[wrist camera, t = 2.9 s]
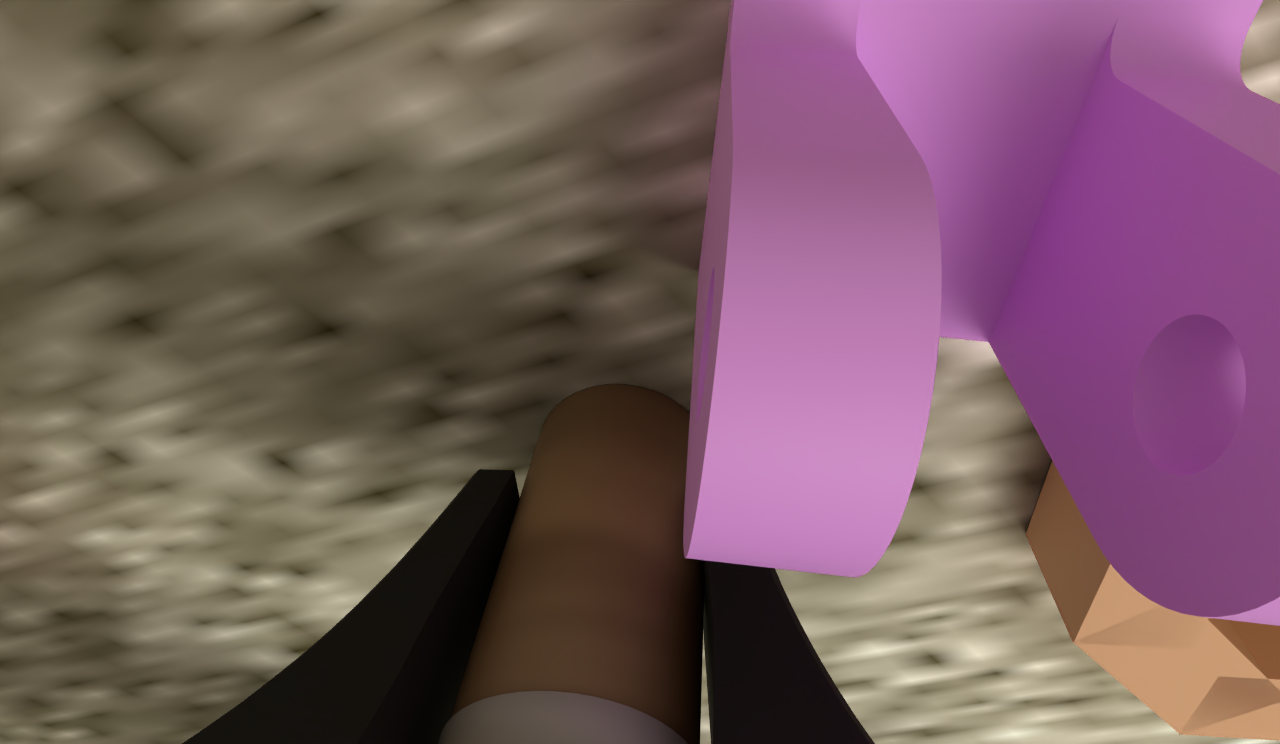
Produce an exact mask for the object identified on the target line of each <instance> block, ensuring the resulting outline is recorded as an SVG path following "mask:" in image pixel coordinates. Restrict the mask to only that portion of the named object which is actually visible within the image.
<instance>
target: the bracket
mask: <svg viewBox="0 0 1280 744" xmlns="http://www.w3.org/2000/svg"><path fill="white" fill-rule="evenodd" d="M1262 1H1263V0H731V7H730V15H729V23H728V32H727V40H726V48H725V57H724V65H723V73H722V82H721V90H720V98H719V106H718V115H717V123H716V131H715V140H714V148H713V156H712V165H711V173H710V181H709V190H708V198H707V206H706V215H705V223H704V231H703V240H702V248H701V256H700V265H699V274H698V290H697V306H696V323H695V339H694V356H693V372H692V389H691V405H690V422H689V438H688V455H687V471H686V488H685V505H684V528H683V549H684V557H685V558H689V559H698V560H706V561H715V562H724V563H733V564H741V565H750V566H759V567H768V568H777V569H785V570H794V571H803V572H812V573H820V574H829V575H838V576H847V577H859V576H862V575H864V574H866V573H868V572H869V571H870V570H871V569H872V568H873V567H874V566H875V565H876V564H877V562H878V561H879V560H880V558H881V557H882V556H883V554H884V552H885V551H886V549H887V547H888V546H889V544H890V542H891V540H892V538H893V536H894V534H895V532H896V529H897V527H898V525H899V523H900V520H901V517H902V515H903V512H904V509H905V507H906V504H907V501H908V498H909V495H910V492H911V488H912V485H913V482H914V479H915V475H916V471H917V467H918V464H919V460H920V456H921V452H922V447H923V442H924V438H925V433H926V428H927V424H928V418H929V412H930V406H931V400H932V395H933V387H934V380H935V372H936V364H937V355H938V344H939V337H946V338H956V339H966V340H976V341H986V342H989V343H990V345H991V347H992V349H993V351H994V353H995V354H996V356H997V358H998V360H999V362H1000V364H1001V366H1002V367H1003V369H1004V371H1005V373H1006V375H1007V377H1008V379H1009V381H1010V382H1011V384H1012V386H1013V388H1014V390H1015V392H1016V394H1017V395H1018V397H1019V399H1020V401H1021V403H1022V405H1023V407H1024V409H1025V410H1026V412H1027V414H1028V416H1029V418H1030V420H1031V422H1032V423H1033V425H1034V427H1035V429H1036V431H1037V433H1038V435H1039V436H1040V438H1041V440H1042V442H1043V444H1044V446H1045V448H1046V450H1047V451H1048V453H1049V455H1050V457H1051V459H1052V461H1053V463H1054V464H1055V466H1056V468H1057V470H1058V472H1059V474H1060V476H1061V478H1062V479H1063V481H1064V483H1065V485H1066V487H1067V489H1068V491H1069V492H1070V494H1071V496H1072V498H1073V500H1074V502H1075V504H1076V506H1077V507H1078V509H1079V511H1080V513H1081V515H1082V517H1083V519H1084V520H1085V522H1086V524H1087V526H1088V528H1089V530H1090V532H1091V534H1092V535H1093V537H1094V539H1095V541H1096V542H1097V544H1098V546H1099V548H1100V549H1101V551H1102V553H1103V554H1104V556H1105V557H1106V558H1107V560H1108V561H1109V562H1110V564H1111V565H1112V567H1113V568H1114V569H1115V570H1116V571H1117V572H1118V573H1119V574H1120V576H1121V577H1122V578H1123V579H1124V580H1125V581H1126V582H1127V583H1128V584H1130V585H1131V586H1132V587H1133V588H1134V589H1135V590H1136V591H1138V592H1139V593H1141V594H1142V595H1143V596H1145V597H1146V598H1148V599H1149V600H1151V601H1153V602H1155V603H1157V604H1159V605H1161V606H1163V607H1165V608H1167V609H1170V610H1173V611H1176V612H1179V613H1182V614H1187V615H1193V616H1198V617H1207V618H1216V619H1224V620H1233V621H1242V622H1251V623H1259V624H1268V625H1277V626H1280V104H1278V103H1276V102H1274V101H1272V100H1269V99H1267V98H1265V97H1263V96H1261V95H1259V94H1256V93H1254V92H1252V91H1251V90H1249V89H1248V88H1247V87H1246V86H1245V84H1244V82H1243V80H1242V77H1241V72H1240V58H1241V51H1242V47H1243V43H1244V40H1245V37H1246V35H1247V32H1248V30H1249V28H1250V26H1251V24H1252V21H1253V19H1254V17H1255V15H1256V13H1257V11H1258V9H1259V7H1260V5H1261V3H1262Z"/></svg>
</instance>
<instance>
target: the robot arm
mask: <svg viewBox="0 0 1280 744" xmlns="http://www.w3.org/2000/svg"><path fill="white" fill-rule="evenodd" d="M519 499H520V498H519V493H518V488H517V483H516V478H515V472H514V470H483V469H479V470H478V471H477V472H476V473H475V474H474V475H473V476H472V478H471V479H470V480H469V481H468V482H467V484H466V485H465V486H464V487H463V488H462V490H461V491H460V492H459V493H458V494H457V496H456V497H455V498H454V499H453V501H452V502H451V503H450V504H449V505H448V507H447V508H446V509H445V510H444V511H443V512H442V514H441V515H440V516H439V517H438V518H437V520H436V521H435V522H434V523H433V524H432V525H431V527H430V528H429V529H428V530H427V531H426V532H425V533H424V535H423V536H422V537H421V538H420V539H419V540H418V541H417V542H416V543H415V545H414V546H413V547H412V548H411V549H410V550H409V551H408V552H407V554H406V555H405V556H404V557H403V558H402V559H401V560H400V561H399V562H398V563H397V565H396V566H395V567H394V568H393V569H392V570H391V571H390V572H389V573H388V574H387V575H386V576H385V577H384V578H383V579H382V580H381V581H380V582H379V583H378V584H377V585H376V586H375V587H374V588H373V589H372V590H371V591H370V592H369V593H368V594H367V595H366V596H365V597H364V598H363V599H362V600H361V601H360V602H359V603H358V604H357V605H356V606H355V607H354V608H353V609H352V610H351V611H350V612H349V613H348V614H347V615H346V616H345V617H344V618H343V619H342V620H341V621H340V622H338V623H337V624H336V625H335V626H334V627H333V628H332V629H331V630H330V631H329V632H327V633H326V634H325V635H324V636H323V637H322V638H321V639H320V640H318V641H317V642H316V643H315V644H314V645H313V646H312V647H310V648H309V649H308V650H307V651H306V652H305V653H303V654H302V655H301V656H300V657H299V658H297V659H296V660H295V661H294V662H292V663H291V664H290V665H289V666H287V667H286V668H285V669H284V670H283V671H281V672H280V673H279V674H278V675H276V676H275V677H274V678H273V679H271V680H270V681H269V682H267V683H266V684H265V685H263V686H262V687H261V688H260V689H258V690H257V691H256V692H254V693H253V694H252V695H251V696H249V697H248V698H247V699H245V700H244V701H243V702H241V703H240V704H239V705H237V706H236V707H235V708H233V709H232V710H230V711H229V712H227V713H226V714H225V715H223V716H222V717H220V718H219V719H217V720H216V721H215V722H213V723H212V724H210V725H209V726H207V727H206V728H205V729H203V730H202V731H200V732H199V733H197V734H196V735H194V736H193V737H191V738H190V739H188V740H187V741H185V742H184V743H182V744H438V742H439V739H440V736H441V733H442V730H443V729H444V727H445V725H446V723H447V722H448V721H449V720H450V718H451V715H452V712H453V708H454V705H455V702H456V699H457V696H458V692H459V689H460V686H461V683H462V680H463V677H464V673H465V670H466V667H467V664H468V661H469V658H470V654H471V651H472V648H473V645H474V642H475V639H476V635H477V632H478V629H479V626H480V623H481V620H482V616H483V613H484V610H485V607H486V604H487V601H488V597H489V594H490V591H491V588H492V585H493V582H494V578H495V575H496V572H497V569H498V566H499V563H500V559H501V556H502V553H503V550H504V547H505V544H506V540H507V537H508V534H509V531H510V528H511V525H512V521H513V518H514V515H515V512H516V509H517V506H518V502H519ZM703 568H704V614H703V630H704V645H705V660H706V675H707V689H708V704H709V718H710V733H711V744H875V743H874V742H873V740H872V739H871V738H870V736H869V735H868V733H867V732H866V731H865V729H864V728H863V726H862V725H861V724H860V722H859V721H858V719H857V718H856V716H855V715H854V713H853V712H852V710H851V709H850V707H849V706H848V704H847V702H846V701H845V699H844V698H843V696H842V695H841V693H840V692H839V690H838V688H837V687H836V685H835V684H834V682H833V680H832V679H831V677H830V675H829V674H828V672H827V670H826V669H825V667H824V665H823V664H822V662H821V660H820V658H819V657H818V655H817V653H816V651H815V650H814V648H813V646H812V644H811V642H810V641H809V639H808V637H807V635H806V633H805V631H804V629H803V627H802V625H801V623H800V622H799V620H798V618H797V616H796V614H795V612H794V610H793V608H792V606H791V604H790V602H789V599H788V597H787V595H786V593H785V591H784V589H783V587H782V584H781V582H780V580H779V577H778V575H777V573H776V570H775V568H768V567H759V566H750V565H741V564H733V563H724V562H715V561H706V560H703Z"/></svg>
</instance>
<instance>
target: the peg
mask: <svg viewBox="0 0 1280 744" xmlns="http://www.w3.org/2000/svg"><path fill="white" fill-rule="evenodd" d="M689 422H690V413H689V412H687V411H686V410H685V409H684V408H683V407H682V406H680V405H679V404H678V403H676V402H675V401H673V400H672V399H670V398H668V397H666V396H664V395H662V394H660V393H657V392H655V391H652V390H649V389H645V388H642V387H637V386H631V385H619V384H616V385H602V386H595V387H591V388H587V389H584V390H581V391H579V392H576V393H574V394H572V395H571V396H569V397H567V398H565V399H564V400H563V401H561V402H560V403H559V404H558V405H557V406H556V407H555V408H554V409H553V410H552V411H551V412H550V414H549V415H548V416H547V418H546V420H545V422H544V424H543V426H542V430H541V433H540V436H539V439H538V442H537V445H536V449H535V452H534V455H533V458H532V461H531V464H530V468H529V471H528V474H527V477H526V480H525V483H524V487H523V490H522V493H521V496H520V499H519V502H518V506H517V509H516V512H515V515H514V518H513V521H512V525H511V528H510V531H509V534H508V537H507V540H506V544H505V547H504V550H503V553H502V556H501V559H500V563H499V566H498V569H497V572H496V575H495V578H494V582H493V585H492V588H491V591H490V594H489V597H488V601H487V604H486V607H485V610H484V613H483V616H482V620H481V623H480V626H479V629H478V632H477V635H476V639H475V642H474V645H473V648H472V651H471V654H470V658H469V661H468V664H467V667H466V670H465V673H464V677H463V680H462V683H461V686H460V689H459V692H458V696H457V699H456V702H455V705H454V708H453V712H452V715H451V718H450V720H449V721H448V722H447V723H446V725H445V727H444V729H443V730H442V733H441V736H440V739H439V742H438V744H700V719H701V684H702V649H703V614H704V568H703V560H698V559H689V558H685V557H684V549H683V528H684V505H685V488H686V471H687V455H688V438H689Z"/></svg>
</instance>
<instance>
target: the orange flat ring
mask: <svg viewBox="0 0 1280 744" xmlns="http://www.w3.org/2000/svg"><path fill="white" fill-rule="evenodd" d="M1025 534H1026V536H1027V539H1028V541H1029V543H1030V546H1031V548H1032V550H1033V552H1034V555H1035V557H1036V559H1037V561H1038V564H1039V566H1040V568H1041V571H1042V573H1043V575H1044V577H1045V580H1046V582H1047V584H1048V587H1049V589H1050V591H1051V593H1052V596H1053V598H1054V600H1055V603H1056V605H1057V607H1058V609H1059V612H1060V614H1061V616H1062V618H1063V621H1064V623H1065V625H1066V628H1067V630H1068V632H1069V634H1070V637H1071V639H1072V641H1073V643H1075V644H1076V645H1077V646H1078V647H1079V648H1081V649H1082V650H1083V651H1084V652H1085V653H1086V654H1088V655H1089V656H1090V657H1091V658H1092V659H1093V660H1095V661H1096V662H1097V663H1098V664H1099V665H1100V666H1102V667H1103V668H1104V669H1105V670H1106V671H1107V672H1109V673H1110V674H1111V675H1112V676H1113V677H1114V678H1115V679H1117V680H1118V681H1119V682H1120V683H1121V684H1122V685H1124V686H1125V687H1126V688H1127V689H1128V690H1129V691H1131V692H1132V693H1133V694H1134V695H1135V696H1136V697H1138V698H1139V699H1140V700H1141V701H1142V702H1143V703H1145V704H1146V705H1147V706H1148V707H1149V708H1150V709H1151V710H1153V711H1154V712H1155V713H1156V714H1157V715H1158V716H1160V717H1161V718H1162V719H1163V720H1164V721H1165V722H1167V723H1168V724H1169V725H1170V726H1171V727H1172V728H1174V729H1175V730H1176V731H1177V732H1178V733H1179V734H1181V735H1199V736H1215V737H1232V738H1248V739H1265V740H1280V626H1277V625H1268V624H1259V623H1251V622H1242V621H1233V620H1224V619H1216V618H1207V617H1198V616H1193V615H1187V614H1182V613H1179V612H1176V611H1173V610H1170V609H1167V608H1165V607H1163V606H1161V605H1159V604H1157V603H1155V602H1153V601H1151V600H1149V599H1148V598H1146V597H1145V596H1143V595H1142V594H1141V593H1139V592H1138V591H1136V590H1135V589H1134V588H1133V587H1132V586H1131V585H1130V584H1128V583H1127V582H1126V581H1125V580H1124V579H1123V578H1122V577H1121V576H1120V574H1119V573H1118V572H1117V571H1116V570H1115V569H1114V568H1113V567H1112V565H1111V564H1110V562H1109V561H1108V560H1107V558H1106V557H1105V556H1104V554H1103V553H1102V551H1101V549H1100V548H1099V546H1098V544H1097V542H1096V541H1095V539H1094V537H1093V535H1092V534H1091V532H1090V530H1089V528H1088V526H1087V524H1086V522H1085V520H1084V519H1083V517H1082V515H1081V513H1080V511H1079V509H1078V507H1077V506H1076V504H1075V502H1074V500H1073V498H1072V496H1071V494H1070V492H1069V491H1068V489H1067V487H1066V485H1065V483H1064V481H1063V479H1062V478H1061V476H1060V474H1059V472H1058V470H1057V468H1056V466H1055V464H1054V463H1053V461H1052V462H1051V465H1050V468H1049V471H1048V474H1047V476H1046V479H1045V482H1044V485H1043V488H1042V490H1041V493H1040V496H1039V499H1038V502H1037V504H1036V507H1035V510H1034V513H1033V516H1032V518H1031V521H1030V524H1029V527H1028V529H1027V532H1026V533H1025Z"/></svg>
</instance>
